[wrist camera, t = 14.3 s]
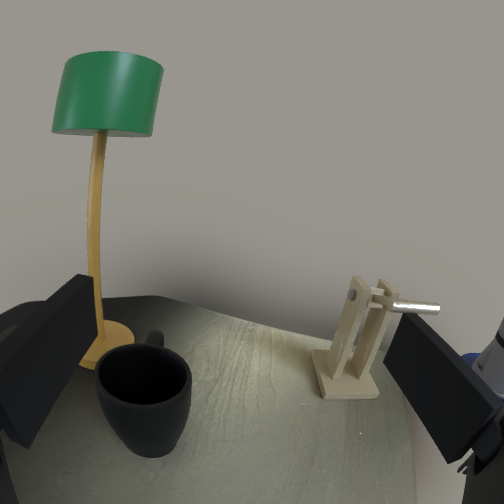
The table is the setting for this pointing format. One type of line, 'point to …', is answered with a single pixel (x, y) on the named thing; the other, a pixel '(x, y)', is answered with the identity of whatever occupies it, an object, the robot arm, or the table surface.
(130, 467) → the table surface
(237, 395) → the table surface
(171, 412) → the mug
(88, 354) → the lamp
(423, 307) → the switch
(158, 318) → the table surface
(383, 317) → the beige wooden upright stand
